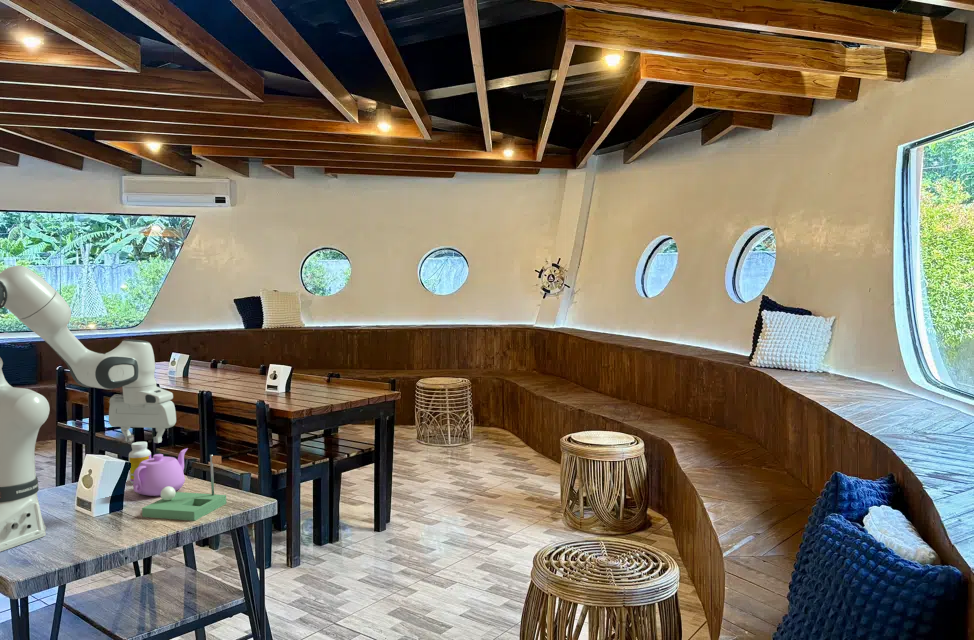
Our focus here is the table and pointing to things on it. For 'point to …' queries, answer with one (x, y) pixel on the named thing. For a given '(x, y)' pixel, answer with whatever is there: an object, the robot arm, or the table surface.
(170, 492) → the ball
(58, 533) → the table surface
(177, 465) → the teapot
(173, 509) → the mat
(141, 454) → the supplement bottle
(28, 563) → the table surface
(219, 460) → the flag pin
